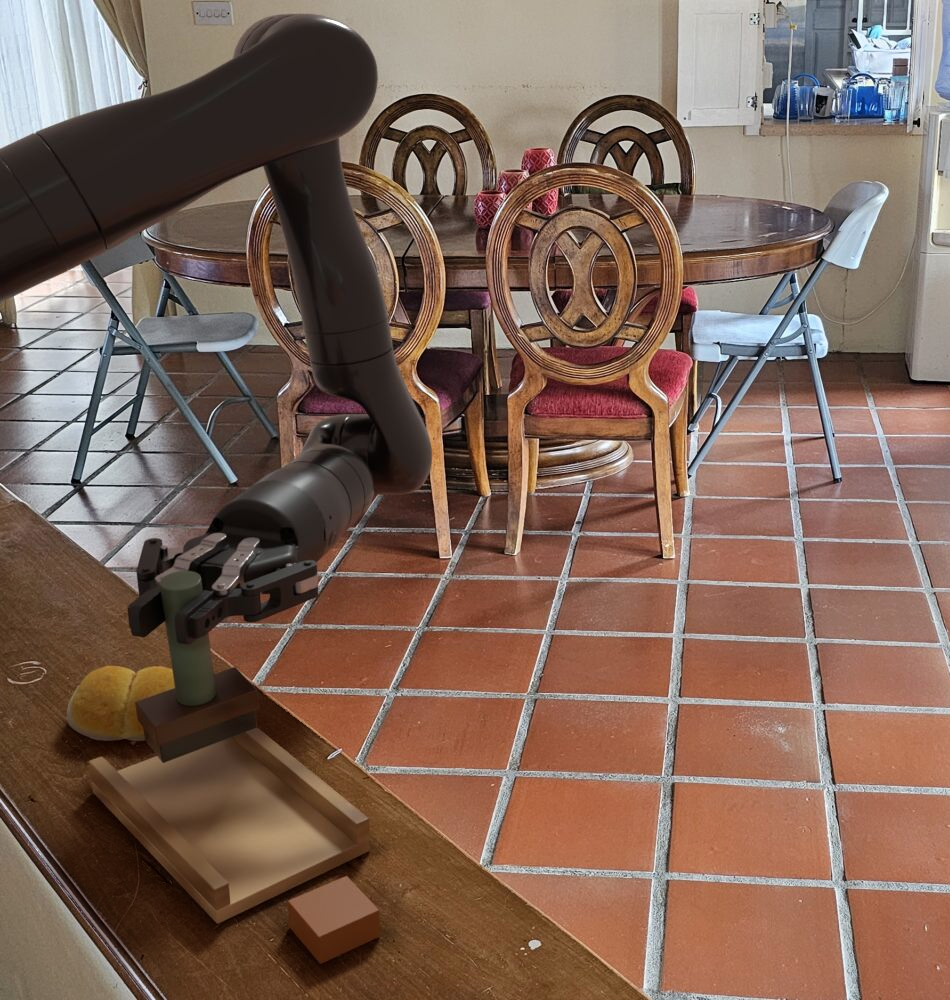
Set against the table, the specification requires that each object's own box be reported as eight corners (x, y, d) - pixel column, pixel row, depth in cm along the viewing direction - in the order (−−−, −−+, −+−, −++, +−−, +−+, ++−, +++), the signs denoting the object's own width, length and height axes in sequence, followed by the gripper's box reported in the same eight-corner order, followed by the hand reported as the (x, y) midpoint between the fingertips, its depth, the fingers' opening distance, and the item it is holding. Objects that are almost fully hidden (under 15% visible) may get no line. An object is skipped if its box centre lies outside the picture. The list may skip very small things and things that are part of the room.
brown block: (288, 927, 78) (287, 900, 78) (348, 901, 81) (346, 875, 80) (320, 964, 76) (318, 937, 75) (380, 936, 78) (379, 909, 77)
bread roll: (185, 745, 96) (180, 698, 95) (60, 747, 95) (54, 700, 94) (205, 688, 104) (201, 644, 102) (90, 690, 103) (84, 646, 102)
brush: (140, 740, 89) (115, 585, 83) (239, 704, 93) (221, 553, 87) (161, 766, 86) (135, 608, 81) (261, 728, 90) (244, 574, 85)
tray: (92, 792, 90) (88, 760, 90) (235, 737, 98) (233, 707, 97) (217, 924, 78) (214, 889, 77) (370, 851, 86) (369, 818, 85)
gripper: (195, 468, 98) (53, 559, 82) (367, 490, 95) (254, 589, 79) (203, 558, 101) (67, 663, 85) (371, 582, 98) (262, 696, 82)
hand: (158, 627), depth 82 cm, fingers closed on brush, 2 cm apart
